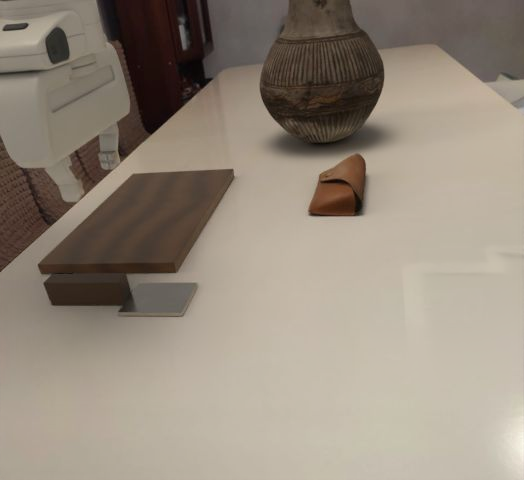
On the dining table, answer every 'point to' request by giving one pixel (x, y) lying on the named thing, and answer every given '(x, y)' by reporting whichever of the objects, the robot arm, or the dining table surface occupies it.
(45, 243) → the dining table surface
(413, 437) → the dining table surface
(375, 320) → the dining table surface
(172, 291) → the spatula
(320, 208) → the sunglasses case
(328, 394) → the dining table surface
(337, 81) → the vase
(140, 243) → the board
